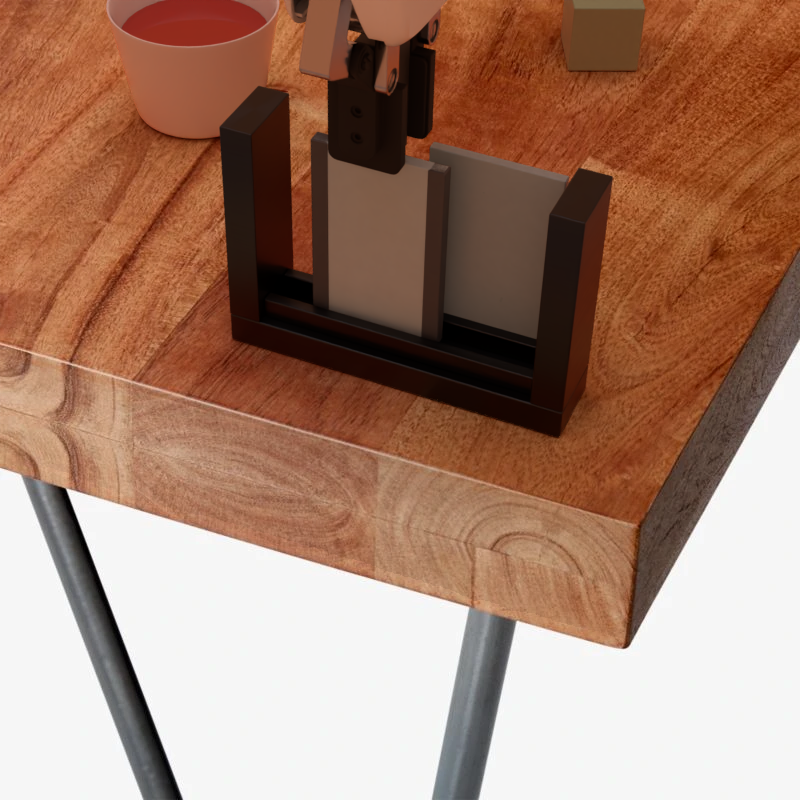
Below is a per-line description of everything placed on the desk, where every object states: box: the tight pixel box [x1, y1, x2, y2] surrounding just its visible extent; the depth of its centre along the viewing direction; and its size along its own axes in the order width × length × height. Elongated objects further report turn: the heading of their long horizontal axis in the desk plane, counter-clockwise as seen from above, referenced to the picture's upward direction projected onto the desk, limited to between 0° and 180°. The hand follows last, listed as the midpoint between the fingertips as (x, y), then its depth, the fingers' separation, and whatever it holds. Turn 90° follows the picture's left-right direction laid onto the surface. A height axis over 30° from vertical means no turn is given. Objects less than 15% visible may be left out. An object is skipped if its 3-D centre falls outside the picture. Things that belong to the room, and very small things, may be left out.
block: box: [560, 0, 647, 72], centre depth 95 cm, size 4×4×4 cm
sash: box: [310, 33, 451, 342], centre depth 70 cm, size 6×2×15 cm, turn 67°
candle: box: [105, 0, 280, 140], centre depth 89 cm, size 9×9×6 cm
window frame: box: [219, 86, 614, 438], centre depth 72 cm, size 16×4×12 cm, turn 67°
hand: (380, 143), depth 68 cm, fingers closed on sash, 2 cm apart
